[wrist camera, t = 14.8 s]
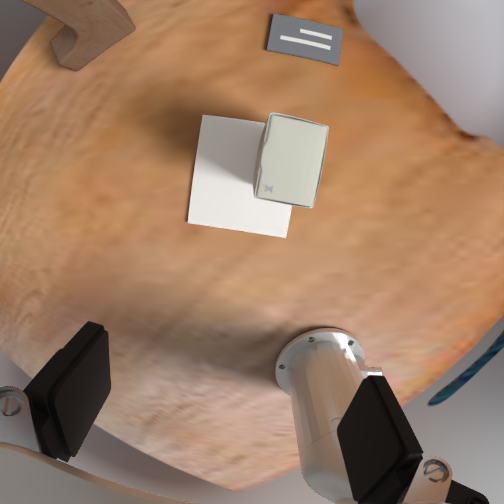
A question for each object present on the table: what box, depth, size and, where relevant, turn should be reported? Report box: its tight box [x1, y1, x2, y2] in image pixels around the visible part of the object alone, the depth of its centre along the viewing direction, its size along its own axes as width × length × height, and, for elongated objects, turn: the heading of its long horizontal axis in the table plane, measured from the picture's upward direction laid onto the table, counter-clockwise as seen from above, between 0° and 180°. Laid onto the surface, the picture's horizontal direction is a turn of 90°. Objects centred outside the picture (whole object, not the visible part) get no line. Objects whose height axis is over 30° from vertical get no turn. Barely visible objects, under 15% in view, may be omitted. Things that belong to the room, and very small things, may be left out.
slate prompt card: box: [267, 14, 343, 66], centre depth 27 cm, size 8×5×1 cm, turn 81°
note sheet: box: [188, 115, 292, 238], centre depth 32 cm, size 11×12×1 cm
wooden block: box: [22, 0, 135, 71], centre depth 18 cm, size 9×4×18 cm, turn 118°
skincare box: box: [253, 112, 329, 209], centre depth 26 cm, size 6×4×12 cm
